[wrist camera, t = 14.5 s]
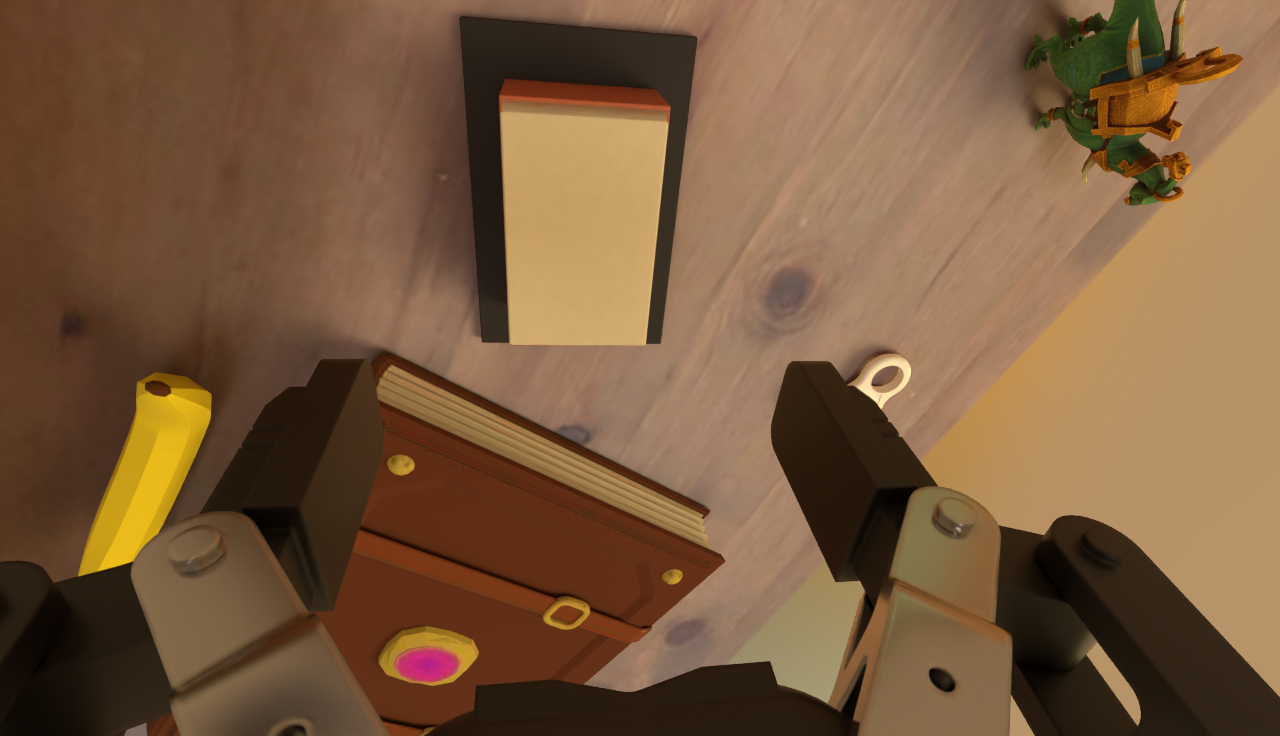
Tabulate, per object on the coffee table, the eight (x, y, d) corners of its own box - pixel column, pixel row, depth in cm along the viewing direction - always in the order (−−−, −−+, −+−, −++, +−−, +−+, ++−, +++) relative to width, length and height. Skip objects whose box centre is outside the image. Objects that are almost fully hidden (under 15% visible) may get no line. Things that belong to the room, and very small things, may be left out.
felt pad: (460, 16, 22) (459, 16, 22) (695, 36, 24) (697, 37, 24) (482, 338, 30) (481, 342, 30) (659, 340, 31) (660, 344, 31)
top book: (504, 78, 23) (498, 94, 21) (656, 89, 24) (670, 105, 21) (513, 307, 29) (509, 345, 26) (636, 309, 30) (646, 346, 27)
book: (712, 509, 39) (731, 573, 35) (466, 736, 51) (459, 804, 47) (374, 342, 29) (346, 404, 25) (167, 670, 41) (125, 749, 37)
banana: (96, 545, 34) (15, 649, 29) (193, 291, 27) (109, 370, 22) (153, 560, 36) (86, 663, 30) (263, 321, 28) (198, 402, 23)
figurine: (1030, 190, 29) (1173, 257, 23) (1001, -86, 23) (1189, -106, 16) (1093, 159, 29) (1258, 218, 22) (1082, -131, 22) (1311, -172, 16)
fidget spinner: (779, 409, 35) (784, 418, 34) (858, 326, 32) (864, 334, 32) (860, 452, 38) (865, 461, 37) (938, 379, 35) (945, 387, 35)
